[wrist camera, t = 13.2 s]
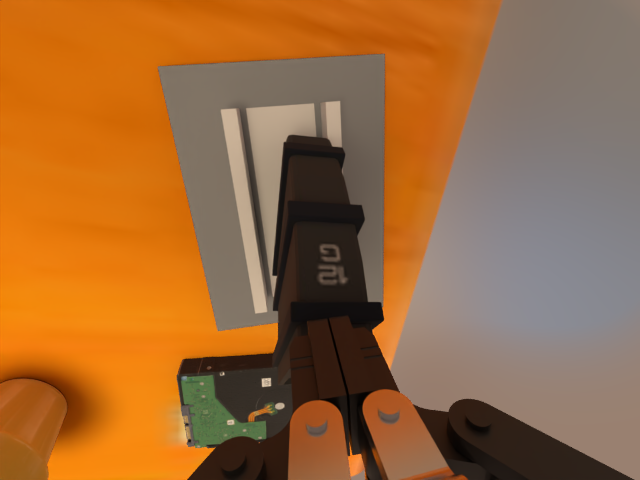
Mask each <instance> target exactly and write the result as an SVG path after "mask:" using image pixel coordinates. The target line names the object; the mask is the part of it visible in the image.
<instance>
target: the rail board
mask: <svg viewBox="0 0 640 480" xmlns="http://www.w3.org/2000/svg"><path fill="white" fill-rule="evenodd" d="M158 71H159V75H160V79H161V84H162V88H163V93H164V97H165V101H166V106H167V110H168V115H169V119H170V123H171V128H172V132H173V136H174V141H175V145H176V150H177V154H178V158H179V163H180V167H181V171H182V176H183V180H184V185H185V189H186V193H187V198H188V202H189V207H190V211H191V215H192V220H193V224H194V228H195V233H196V237H197V242H198V246H199V250H200V255H201V259H202V264H203V268H204V272H205V277H206V281H207V285H208V290H209V294H210V299H211V303H212V307H213V312H214V316H215V321H216V325H217V329H218V331H222V330H229V329H236V328H243V327H250V326H257V325H264V324H271V323H278V311H273V300H274V293H275V286H276V278H277V276H273V275H272V269H273V257H274V246H275V234H276V223H277V211H278V200H279V188H280V177H281V165H282V154H283V143H284V142H286V139H287V137H288V136H289V135H300V136H310V137H320V138H327V139H329V140H330V142H331V144H332V146H334V147H342V148H343V150H344V152H345V154H346V155H345V159H344V164H343V168H342V174H343V176H344V179H345V183H346V188H347V192H348V196H349V200H350V204H354V205H362V208H363V212H364V216H365V221H364V223H363V226H362V228H361V230H360V232H359V234H358V236H357V238H358V242H359V247H360V252H361V256H362V261H363V267H364V275H365V282H366V289H367V297H368V302H381V303H382V307H383V248H384V105H385V54H372V55H355V56H337V57H319V58H301V59H283V60H266V61H248V62H230V63H212V64H194V65H177V66H159V67H158Z"/></svg>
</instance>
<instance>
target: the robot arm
mask: <svg viewBox="0 0 640 480" xmlns="http://www.w3.org/2000/svg"><path fill="white" fill-rule="evenodd" d="M307 326H308V335H306V336H299V337H294V339H293V341H292V343H291V345H290V347H289V353H290V369H291V386H292V403H293V411H292V416H291V418H290V420H289V422H288V424H287V425H286V426H285V427H284V428H283V429H282V430H281V431H280V432H279V433H278V434H276V435H274V436H273V437H271V438H269V439H267V440H265V441H263V442H261V443H258V442H257V441H256V440H255V439H253V438H251V437H247V436H237V437H233V438H230V439H228V440H226V441H224V442H222V443H221V444H220V445H218V446H217V447H216V448H215V449H214V450H213V451H212V452H211V454H210V455H209V456H208V457H207V458H206V459H205V460H204V461H203V463H202V464H201V465H200V466H199V467H198V468H197V469H196V470H195V472H194V473H193V474H192V475H191V476H190V477H189V478H188V479H187V480H351V477H350V469H349V462H348V456H350V446H351V450H352V455H356V454H361V455H362V459H363V463H364V467H365V480H634V479H632V478H630V477H628V476H626V475H624V474H622V473H620V472H618V471H616V470H614V469H612V468H611V467H609V466H607V465H605V464H603V463H601V462H599V461H597V460H595V459H593V458H591V457H589V456H587V455H585V454H583V453H581V452H579V451H578V450H576V449H574V448H572V447H570V446H568V445H566V444H564V443H562V442H560V441H558V440H556V439H554V438H552V437H551V436H548V435H546V434H545V433H543V432H541V431H539V430H537V429H535V428H533V427H531V426H529V425H527V424H525V423H523V422H521V421H520V420H518V419H516V418H514V417H512V416H510V415H508V414H506V413H504V412H502V411H500V410H498V409H496V408H494V407H492V406H491V405H489V404H486V403H484V402H481V401H479V400H474V399H463V400H459V401H456V402H455V403H454V404H453V405H452V406H451V407H450V409H449V412H443V411H436V410H428V409H424V408H420V407H418V406H415V405H413V404H412V402H411V401H410V400H409V399H408V398H407V397H406V396H405V395H403V394H401V393H400V391H399V390H398V388H397V385H396V383H395V381H394V379H393V376H392V374H391V372H390V370H389V368H388V365H387V363H386V361H385V359H384V357H383V355H382V352H381V350H380V348H379V346H378V343H377V341H376V339H375V337H374V335H373V334H372V333H371V332H369V331H368V330H367V329H366V328H365V327H361V328H354V329H353V327H352V325H351V322H350V319H349V317H348V315H346V316H338V317H331V318H328V321H327V318H325V319H317V320H310V321H307ZM349 442H350V445H349Z"/></svg>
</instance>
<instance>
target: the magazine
mask: <svg viewBox="0 0 640 480" xmlns="http://www.w3.org/2000/svg"><path fill="white" fill-rule="evenodd" d="M345 155H346V154H345V152H344V150H343V148H342V147H334V146H332V144H331V142H330V140H329V139H327V138H320V137H310V136H300V135H289V136H288V137H287V139H286V142H284V143H283V154H282V165H281V177H280V188H279V200H278V211H277V223H276V234H275V246H274V257H273V269H272V275H273V276H277V278H276V286H275V293H274V300H273V311H278V341H277V344H276V347H275V350H274V353H273V356H272V367H278V385H291V369H290V353H289V347H290V345H291V343H292V341H293V339H294V337H299V336H306V335H308V326H307V321H310V320H317V319H325V318H327V321H328V318H331V317H338V316H346V315H348V317H349V319H350V322H351V325H352V327H353V329H354V328H361V327H365V328H366V329H367V330H368V331H369V332H371V333H372V329H374V328H375V327H376V326H378V325H379V324H380V323H381V322H383V321H384V316H383V310H382V303H381V302H368V297H367V289H366V282H365V275H364V267H363V261H362V256H361V252H360V247H359V242H358V238H357V236H358V234H359V232H360V230H361V228H362V226H363V223H364V221H365V216H364V212H363V208H362V205H354V204H350V200H349V196H348V192H347V188H346V183H345V179H344V176H343V174H342V168H343V164H344V159H345ZM372 334H373V333H372Z"/></svg>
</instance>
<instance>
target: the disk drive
mask: <svg viewBox="0 0 640 480" xmlns="http://www.w3.org/2000/svg"><path fill="white" fill-rule="evenodd" d="M272 356H273V354H258V355H245V356H228V357H204V358H196V359H184V360H182V363H181V365H180V368H179V371H178V374H177V382H178V388H179V395H180V402H181V411H182V416H183V417H184V424H185V430H186V436H187V439H188V442H187V445H188V447H191V446H195V447H196V448H201V447H207V448H215V447H217V446H218V445H220V444H221V443H222V442H224V441H226V440H228V439H230V438H233V437H237V436H247V437H251V438H253V439H255V440H256V441H257V442H258V443H259V442H260V443H261V442H263V441H265V440H267V439H269V438H271V437H273V436H274V435H276V434H278V433H279V432H280V431H281V430H282V429H283V428H284V427H285V426H286V425H287V424H288V422H289V420H290V418H291V416H292V411H293V403H292V386H291V385H278V367H272Z"/></svg>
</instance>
